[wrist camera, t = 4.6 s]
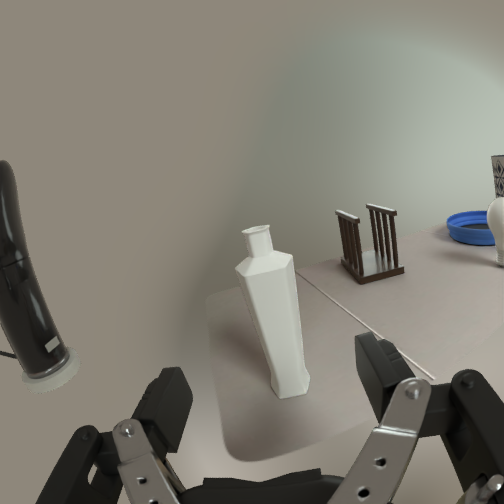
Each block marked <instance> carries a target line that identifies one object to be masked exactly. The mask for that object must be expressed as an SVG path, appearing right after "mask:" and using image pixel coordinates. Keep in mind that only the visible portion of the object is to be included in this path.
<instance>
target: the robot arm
mask: <svg viewBox="0 0 504 504" xmlns="http://www.w3.org/2000/svg"><path fill="white" fill-rule="evenodd" d="M28 256H29V253H28V249H27V245H26V239H25V234H24V230H23V226H22V220H21V215H20V208H19V201H18V193H17V186H16V180H15V176H14V173H13V170H12V168H11V166H10V164H9V163H8V162H7V161H4V160H1V161H0V322H1V323H0V324H1V327H2V329H3V331H4V333H5V335H6V337H7V340H8V342H9V343H10V346H11V348H12V350H13V352H14V354H11V353H6V352H2V351H0V355H3V356H7V357H11V358H15V359H18V361H19V363H20V365H21V366H22V368H23V370H24V372H25V373H26V374H27V376H28V377H29V378H31V379H40V378H44V377H47V376H49V375H51V374H53V373H54V372H56V371H58V370H59V369H60V368H61V367H63V366H64V365H65V364H66V362H67V361H68V359H69V357H70V354H69V351H68V350H67V348H66V347H65V345H64V343H63V341H62V339H61V337H60V335H59V332H58V330H57V328H56V326H55V324H54V321H53V319H52V317H51V314H50V312H49V309H48V307H47V305H46V302H45V300H44V297H43V294H42V292H41V289H40V286H39V283H38V281H37V278H36V275H35V272H34V269H33V266H32V263H31V260H30V257H28ZM355 353H356V367H357V371H358V375H359V377H360V380H361V382H362V384H363V387H364V389H365V391H366V394H367V396H368V398H369V401H370V403H371V406H372V408H373V411H374V413H375V415H376V418H377V420H378V423H379V426H378V427H375V428H374V429H373V430H372V432H371V434H370V436H369V438H368V439H367V441H366V443H365V445H364V447H363V448H362V450H361V452H360V454H359V455H358V457H357V459H356V461H355V462H354V464H353V466H352V467H351V469H350V471H349V472H348V474H347V475H346V477H345V478H344V477H340V476H334V475H321V469H320V468H317V469H312V470H307V471H300V472H294V473H289V474H286V475H283V476H280V477H277V478H273V479H270V480H267V481H263V482H253V481H247V480H241V479H235V478H204V480H203V485H200V486H196V487H193V488H190V489H187V490H186V489H185V487H184V486H183V485H182V483H181V481H180V480H179V478H178V477H177V475H176V473H175V472H174V470H173V469H172V467H171V465H170V463H169V461H168V460H167V459H166V454H167V452H168V453H177V450H178V447H179V444H180V441H181V438H182V434H183V431H184V428H185V425H186V421H187V418H188V415H189V412H190V409H191V406H192V402H193V395H192V391H191V389H190V387H189V385H188V383H187V381H186V378H185V376H184V374H183V372H182V370H181V368H180V367H170V368H163V369H162V371H161V373H160V375H159V377H158V378H156V379H154V380H153V381H152V382H151V383H150V384H149V385H148V387H147V389H146V391H145V394H143V396H142V400H140V402H139V404H138V406H137V408H136V409H135V411H134V413H133V415H132V417H131V419H126V420H123V421H121V422H119V423H118V424H117V425H116V426H115V427H114V429H113V431H110V432H104V433H99V432H98V430H97V429H96V428H95V427H94V426H91V425H86V426H83V427H80V428H79V429H77V430H76V431H75V433H74V434H73V436H72V438H71V439H70V441H69V443H68V445H67V446H66V448H65V450H64V451H63V453H62V455H61V457H60V458H59V460H58V462H57V464H56V466H55V467H54V469H53V471H52V473H51V475H50V477H49V478H48V480H47V482H46V484H45V486H44V488H43V490H42V492H41V494H40V496H39V498H38V500H37V502H36V504H117V502H118V499H119V496H120V493H121V490H122V487H123V485H124V488H125V490H126V493H127V495H128V498H129V500H130V503H131V504H393V503H391V501H392V499H393V497H394V496H395V493H396V491H397V489H398V487H399V485H400V483H401V481H402V479H403V476H404V474H405V472H406V469H407V467H408V465H409V462H410V460H411V457H412V455H413V452H414V450H415V447H416V445H417V442H418V439H419V438H422V437H429V436H436V435H440V436H441V439H442V441H443V443H444V445H445V447H446V450H447V452H448V454H449V457H450V459H451V461H452V464H453V466H454V469H455V471H456V473H457V476H458V479H459V481H460V483H461V486H462V489H463V492H464V494H463V495H462V496H461V498H460V499H459V500H458V502H457V504H504V403H503V402H502V401H501V399H500V398H499V396H498V395H497V394H496V392H495V391H494V390H493V388H492V387H491V386H490V384H489V383H488V382H487V381H486V379H485V378H484V377H483V375H482V374H481V373H479V372H478V371H476V370H472V369H465V370H462V371H459V372H458V373H456V374H455V375H454V377H453V378H452V381H451V383H445V384H439V385H430V384H429V383H428V382H427V381H426V380H424V379H422V378H416V376H415V375H414V373H413V372H412V371H411V369H410V368H409V366H408V365H407V363H406V362H405V360H404V359H403V358H402V356H401V355H400V353H399V352H398V350H397V349H396V347H395V346H394V345H393V343H391V342H389V341H387V340H385V339H383V340H379V341H377V339H376V338H375V336H374V335H373V333H372V332H368V333H364V334H360V335H357V336H355ZM93 464H94V465H95V466H96V467H97V471H96V473H95V475H94V477H93V480H92V482H91V484H89V482H88V474H89V472H90V469H91V467H92V465H93Z"/></svg>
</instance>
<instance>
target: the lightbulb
mask: <svg viewBox="0 0 504 504" xmlns="http://www.w3.org/2000/svg"><path fill="white" fill-rule="evenodd" d="M487 223H488V226H489V229H490V231H491V232H492V234H493V236H494V239H495V245H496V247H497V258H496V259H497V260H496V263H497V264H499V265H500V266H501V267H504V197H498V198H496V199H494V200H493V201H492V202H491V203H490V205H489V207H488V210H487Z"/></svg>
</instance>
